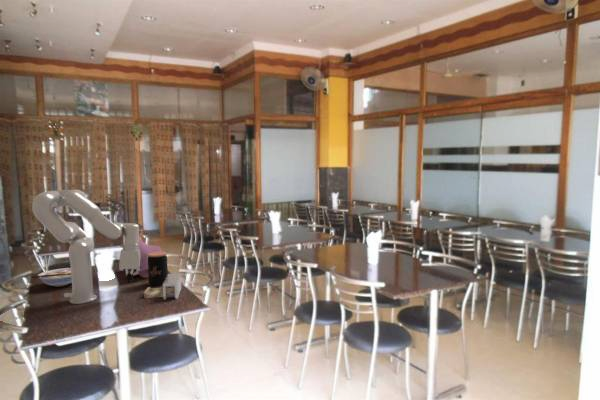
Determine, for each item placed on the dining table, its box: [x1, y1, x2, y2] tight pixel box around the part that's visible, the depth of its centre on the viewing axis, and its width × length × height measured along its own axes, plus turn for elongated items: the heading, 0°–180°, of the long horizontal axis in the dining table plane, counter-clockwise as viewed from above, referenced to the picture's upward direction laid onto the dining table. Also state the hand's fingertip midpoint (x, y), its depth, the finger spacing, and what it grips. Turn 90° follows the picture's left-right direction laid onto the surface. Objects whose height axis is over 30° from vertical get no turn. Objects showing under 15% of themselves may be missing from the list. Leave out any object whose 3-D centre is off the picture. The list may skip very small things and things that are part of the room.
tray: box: [143, 286, 175, 299], centre depth 225 cm, size 15×10×3 cm, turn 98°
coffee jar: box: [148, 251, 169, 287], centre depth 244 cm, size 11×11×18 cm
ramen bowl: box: [31, 267, 72, 288], centre depth 245 cm, size 25×23×8 cm
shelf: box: [162, 272, 183, 300], centre depth 226 cm, size 7×20×8 cm, turn 10°
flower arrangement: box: [125, 236, 163, 279], centre depth 266 cm, size 35×24×28 cm
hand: (129, 281), depth 222 cm, fingers closed
